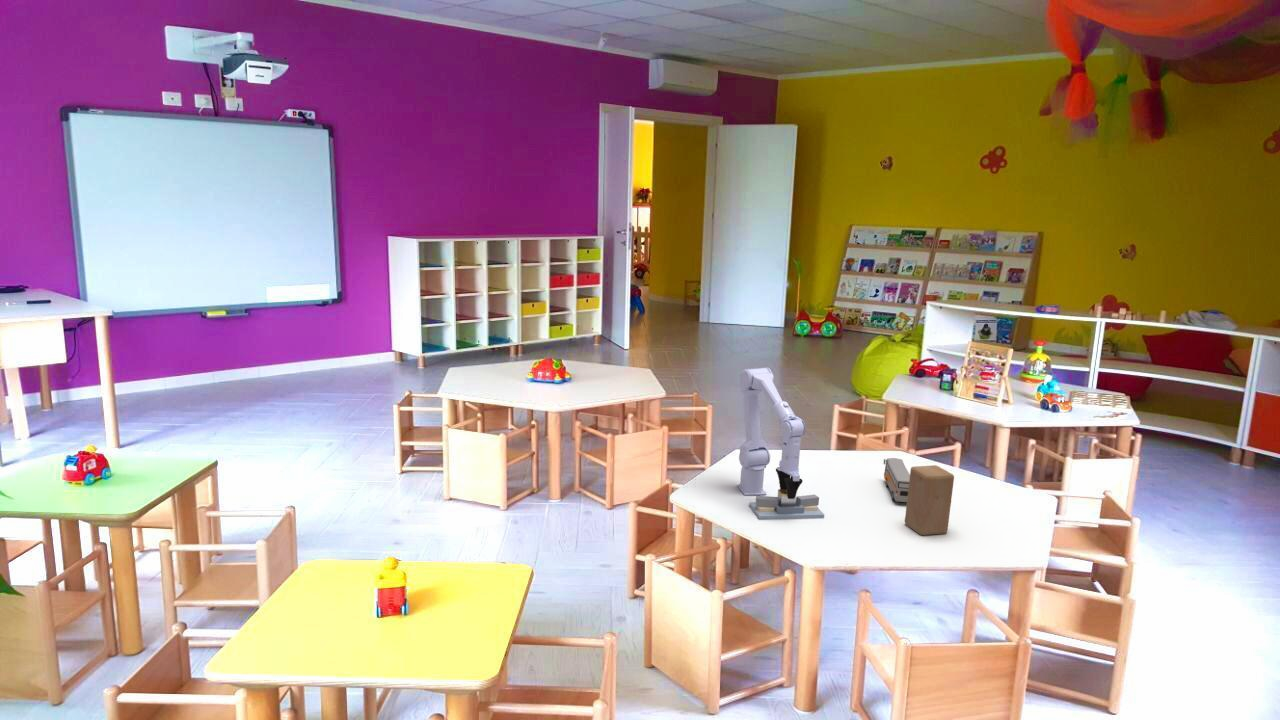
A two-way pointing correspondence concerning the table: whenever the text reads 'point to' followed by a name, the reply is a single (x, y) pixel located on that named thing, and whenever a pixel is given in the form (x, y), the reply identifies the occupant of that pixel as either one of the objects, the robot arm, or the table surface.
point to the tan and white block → (785, 499)
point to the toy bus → (897, 479)
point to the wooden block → (929, 499)
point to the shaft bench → (786, 508)
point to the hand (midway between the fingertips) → (787, 494)
